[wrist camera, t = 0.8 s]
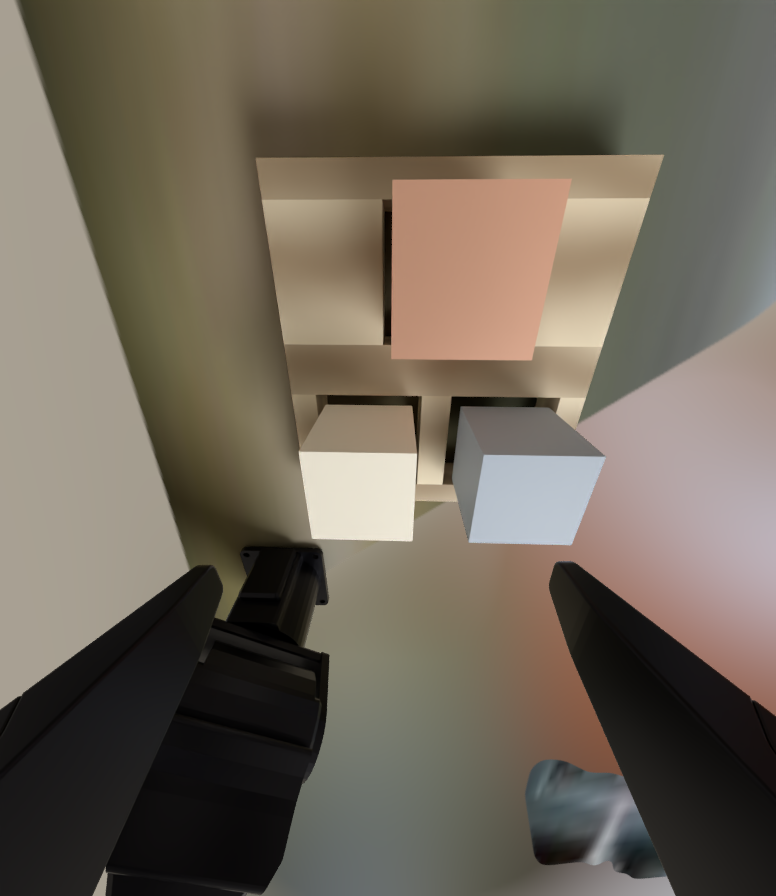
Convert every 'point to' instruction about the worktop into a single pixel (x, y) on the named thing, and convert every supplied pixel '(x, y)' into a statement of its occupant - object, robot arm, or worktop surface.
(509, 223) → the salmon pink block
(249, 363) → the worktop surface
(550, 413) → the slate-blue button
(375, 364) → the panel
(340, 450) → the cream button
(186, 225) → the worktop surface
